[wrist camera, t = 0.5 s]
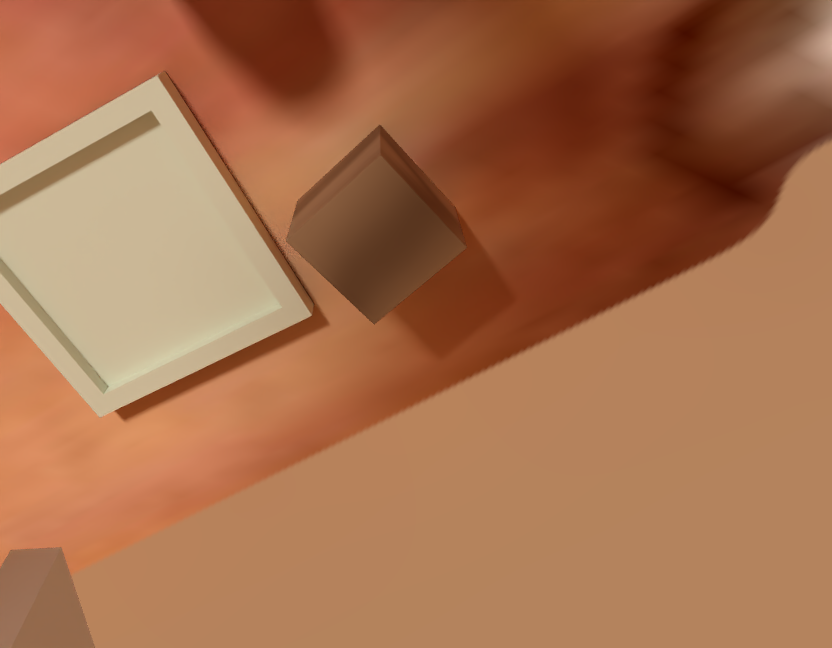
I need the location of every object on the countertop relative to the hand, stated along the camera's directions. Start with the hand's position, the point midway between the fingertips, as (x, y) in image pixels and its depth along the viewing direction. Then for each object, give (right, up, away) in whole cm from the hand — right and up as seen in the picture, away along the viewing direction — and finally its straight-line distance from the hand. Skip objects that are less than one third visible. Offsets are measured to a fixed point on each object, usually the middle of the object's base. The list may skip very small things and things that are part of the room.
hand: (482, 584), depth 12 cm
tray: (-14, +7, +22) cm, 27 cm away
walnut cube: (-3, +10, +21) cm, 24 cm away
